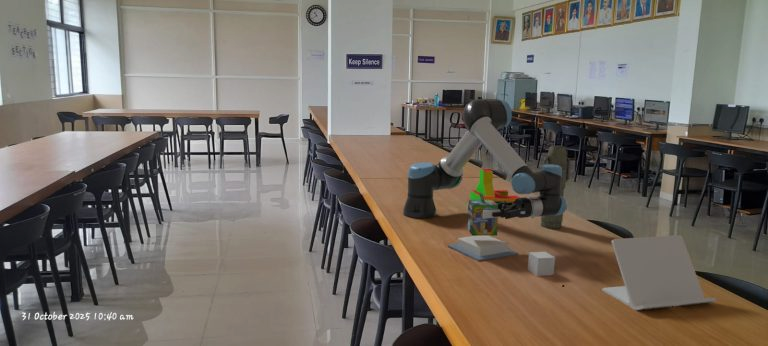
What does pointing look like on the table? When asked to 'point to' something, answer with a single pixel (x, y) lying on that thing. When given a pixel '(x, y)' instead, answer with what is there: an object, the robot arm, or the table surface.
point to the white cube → (541, 263)
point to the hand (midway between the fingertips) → (474, 210)
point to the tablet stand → (656, 273)
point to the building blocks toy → (490, 189)
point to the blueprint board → (481, 258)
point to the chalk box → (475, 214)
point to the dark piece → (559, 158)
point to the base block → (482, 245)
